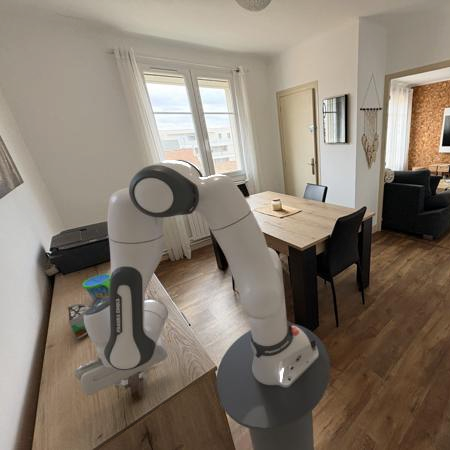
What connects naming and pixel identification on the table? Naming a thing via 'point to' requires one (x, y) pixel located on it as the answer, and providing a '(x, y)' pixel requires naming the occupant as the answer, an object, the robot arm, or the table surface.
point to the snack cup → (98, 286)
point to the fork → (135, 386)
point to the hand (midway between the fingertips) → (135, 382)
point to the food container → (78, 320)
